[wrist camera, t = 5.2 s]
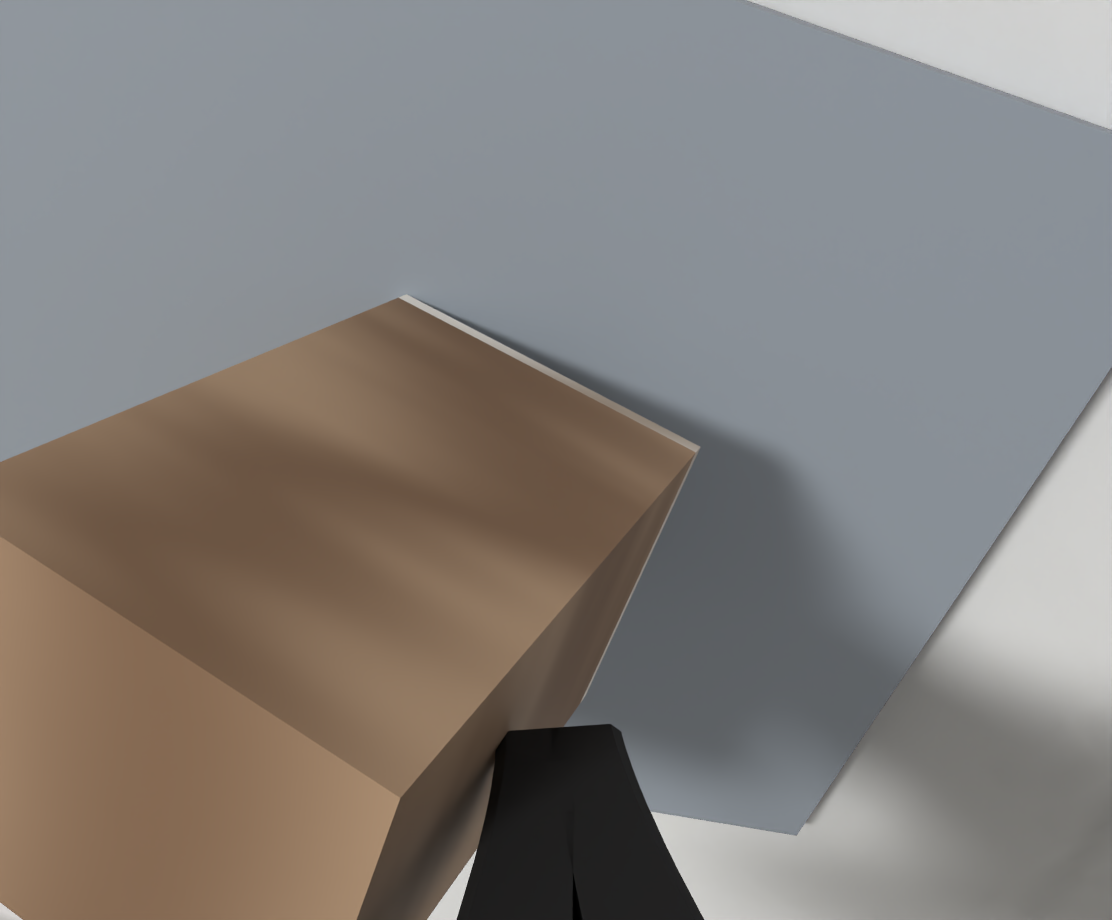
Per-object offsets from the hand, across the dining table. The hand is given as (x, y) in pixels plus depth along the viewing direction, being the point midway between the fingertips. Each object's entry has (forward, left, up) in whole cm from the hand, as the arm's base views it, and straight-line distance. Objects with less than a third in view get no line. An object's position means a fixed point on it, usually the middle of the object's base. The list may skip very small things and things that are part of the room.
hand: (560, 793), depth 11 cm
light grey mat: (+2, 0, -7) cm, 7 cm away
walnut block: (+1, 0, -5) cm, 5 cm away
